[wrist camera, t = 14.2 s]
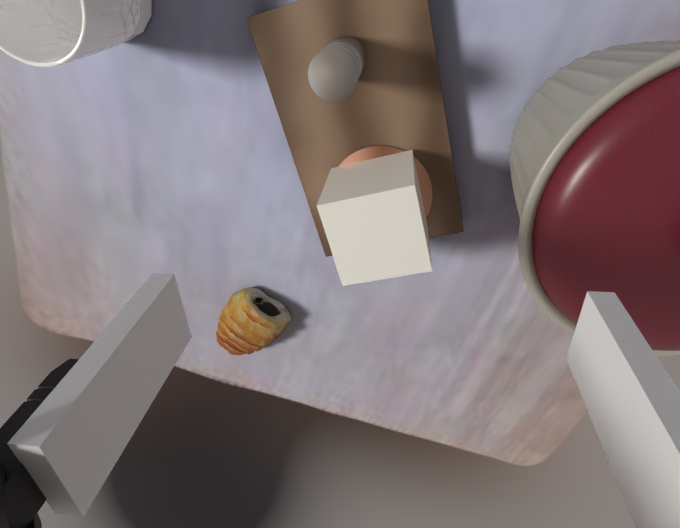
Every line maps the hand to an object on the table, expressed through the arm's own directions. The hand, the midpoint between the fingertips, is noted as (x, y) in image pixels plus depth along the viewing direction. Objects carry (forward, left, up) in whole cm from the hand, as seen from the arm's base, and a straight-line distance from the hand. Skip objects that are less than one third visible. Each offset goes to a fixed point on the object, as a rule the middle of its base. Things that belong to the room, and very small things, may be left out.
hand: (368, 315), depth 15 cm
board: (+2, +1, -27) cm, 27 cm away
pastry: (+20, +18, -28) cm, 38 cm away
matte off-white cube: (+2, +6, -25) cm, 26 cm away
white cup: (+19, -14, -27) cm, 36 cm away
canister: (-16, +6, -27) cm, 32 cm away
